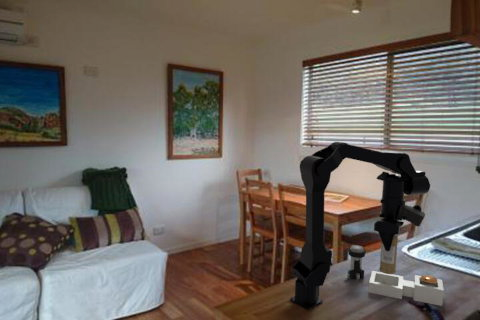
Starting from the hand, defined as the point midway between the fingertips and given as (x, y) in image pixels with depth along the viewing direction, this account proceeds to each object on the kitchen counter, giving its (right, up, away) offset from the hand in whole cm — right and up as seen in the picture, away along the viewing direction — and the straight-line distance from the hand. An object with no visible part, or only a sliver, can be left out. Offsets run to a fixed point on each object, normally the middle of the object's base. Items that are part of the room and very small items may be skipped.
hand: (388, 248), depth 107 cm
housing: (+4, -13, 0) cm, 13 cm away
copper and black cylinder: (+10, -13, -3) cm, 16 cm away
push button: (-8, -12, +8) cm, 16 cm away
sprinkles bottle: (0, -7, +1) cm, 7 cm away
